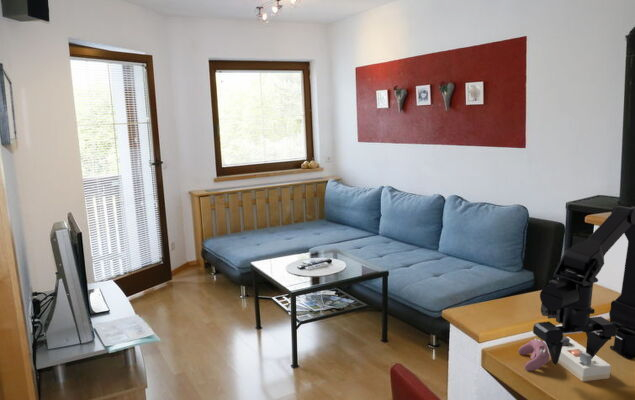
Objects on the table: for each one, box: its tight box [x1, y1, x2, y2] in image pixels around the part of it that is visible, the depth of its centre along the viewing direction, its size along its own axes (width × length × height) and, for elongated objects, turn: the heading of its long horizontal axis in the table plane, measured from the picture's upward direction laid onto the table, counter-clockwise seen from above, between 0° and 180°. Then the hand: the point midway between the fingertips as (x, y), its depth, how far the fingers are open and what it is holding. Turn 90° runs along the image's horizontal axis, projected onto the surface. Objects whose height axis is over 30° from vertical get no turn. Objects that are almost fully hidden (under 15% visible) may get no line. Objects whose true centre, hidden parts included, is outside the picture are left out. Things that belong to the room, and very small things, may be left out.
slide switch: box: [580, 352, 592, 366], centre depth 124 cm, size 1×2×4 cm, turn 11°
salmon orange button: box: [571, 350, 582, 357], centre depth 129 cm, size 3×3×2 cm
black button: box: [561, 335, 570, 347], centre depth 134 cm, size 3×3×2 cm
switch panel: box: [542, 336, 612, 382], centre depth 130 cm, size 8×16×3 cm, turn 11°
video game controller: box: [517, 337, 550, 372], centre depth 130 cm, size 10×5×7 cm, turn 169°
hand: (571, 362), depth 123 cm, fingers open, 9 cm apart
